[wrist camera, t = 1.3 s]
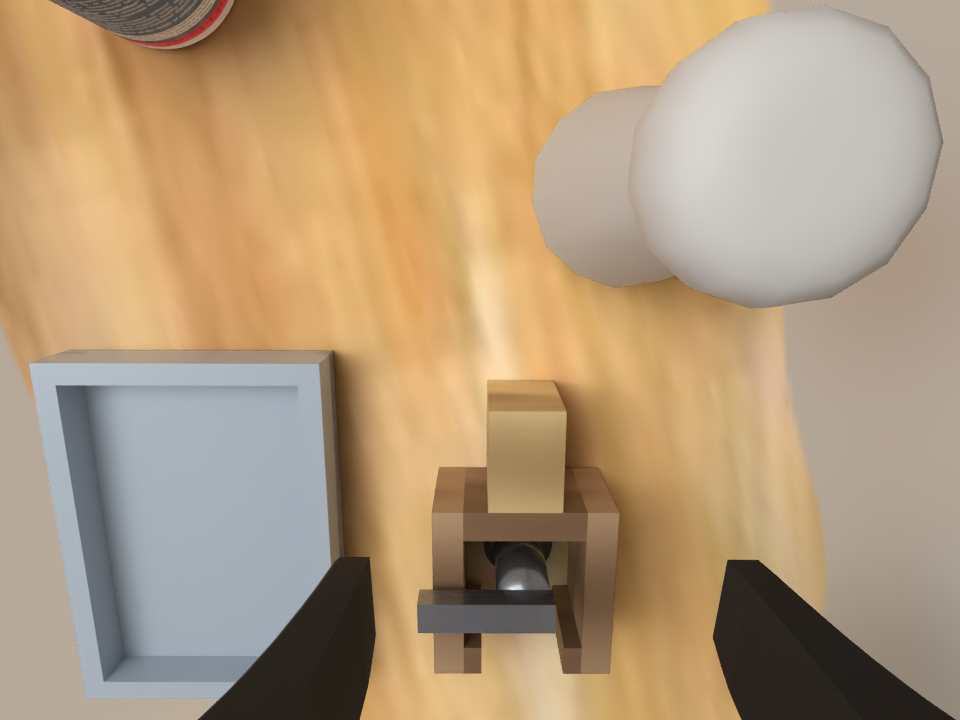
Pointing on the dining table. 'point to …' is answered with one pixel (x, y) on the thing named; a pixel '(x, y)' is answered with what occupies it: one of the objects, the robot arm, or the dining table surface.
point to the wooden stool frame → (530, 524)
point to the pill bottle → (154, 19)
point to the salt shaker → (749, 164)
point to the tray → (188, 507)
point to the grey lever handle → (497, 596)
